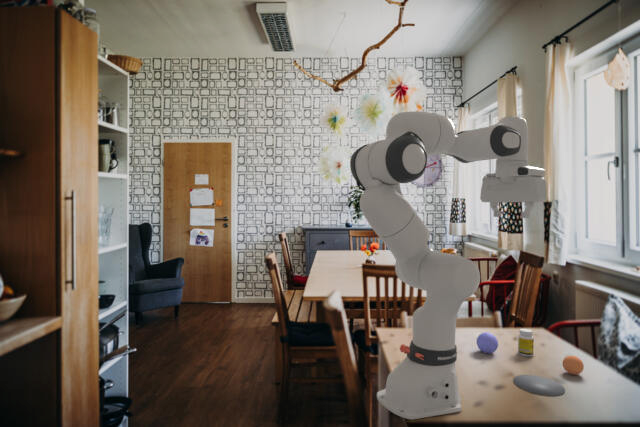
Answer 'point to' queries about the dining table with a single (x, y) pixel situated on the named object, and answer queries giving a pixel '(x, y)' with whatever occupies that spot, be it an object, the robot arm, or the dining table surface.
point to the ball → (573, 365)
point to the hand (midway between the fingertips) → (510, 217)
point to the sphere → (487, 342)
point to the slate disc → (539, 385)
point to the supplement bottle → (525, 342)
